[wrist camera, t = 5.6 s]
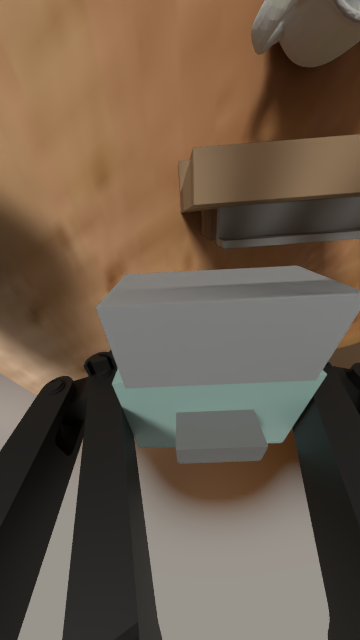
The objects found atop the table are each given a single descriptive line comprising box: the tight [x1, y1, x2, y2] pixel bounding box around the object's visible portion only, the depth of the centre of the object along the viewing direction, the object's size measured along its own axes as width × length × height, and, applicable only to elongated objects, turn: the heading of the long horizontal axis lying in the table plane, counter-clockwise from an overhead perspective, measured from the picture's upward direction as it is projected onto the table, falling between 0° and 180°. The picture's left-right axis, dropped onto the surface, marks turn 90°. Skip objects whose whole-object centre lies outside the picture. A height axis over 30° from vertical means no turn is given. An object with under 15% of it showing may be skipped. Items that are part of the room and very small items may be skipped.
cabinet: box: [96, 266, 360, 463], centre depth 9 cm, size 7×9×10 cm
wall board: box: [178, 134, 360, 249], centre depth 15 cm, size 20×8×18 cm, turn 94°
